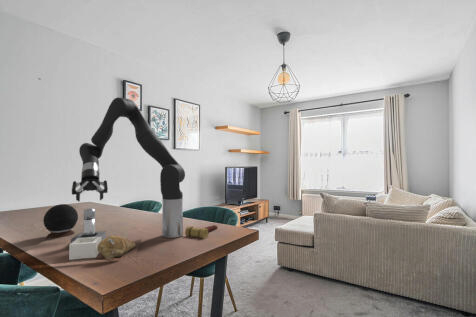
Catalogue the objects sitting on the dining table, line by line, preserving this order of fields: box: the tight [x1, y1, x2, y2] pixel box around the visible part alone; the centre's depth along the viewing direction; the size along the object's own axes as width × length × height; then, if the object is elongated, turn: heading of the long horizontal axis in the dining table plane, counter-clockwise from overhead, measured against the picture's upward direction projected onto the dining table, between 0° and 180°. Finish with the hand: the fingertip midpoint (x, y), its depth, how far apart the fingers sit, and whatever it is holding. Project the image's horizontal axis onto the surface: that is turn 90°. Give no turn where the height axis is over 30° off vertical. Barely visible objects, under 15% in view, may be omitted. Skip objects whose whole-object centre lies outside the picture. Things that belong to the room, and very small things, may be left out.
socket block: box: [70, 230, 107, 244], centre depth 103 cm, size 10×10×4 cm
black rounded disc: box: [42, 203, 79, 240], centre depth 117 cm, size 13×13×15 cm
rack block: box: [68, 237, 102, 263], centre depth 90 cm, size 8×8×6 cm
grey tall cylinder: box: [83, 207, 96, 237], centre depth 103 cm, size 4×4×14 cm
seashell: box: [97, 234, 137, 261], centre depth 91 cm, size 14×8×8 cm, turn 163°
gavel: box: [184, 224, 219, 240], centre depth 123 cm, size 21×5×10 cm
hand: (90, 199), depth 113 cm, fingers open, 8 cm apart
